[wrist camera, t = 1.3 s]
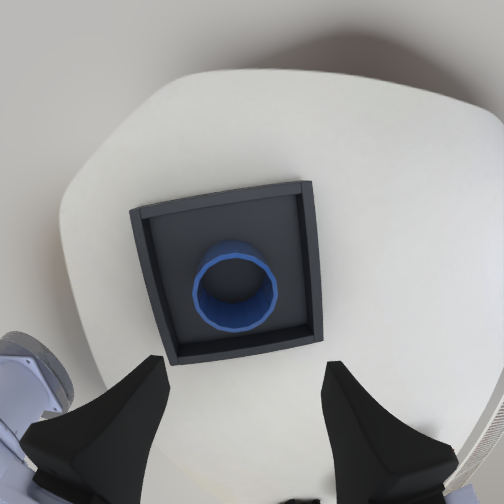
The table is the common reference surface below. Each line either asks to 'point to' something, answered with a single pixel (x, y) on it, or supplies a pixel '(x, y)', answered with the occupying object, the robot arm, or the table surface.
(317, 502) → the game controller
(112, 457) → the robot arm
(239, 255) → the small cup
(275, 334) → the tray
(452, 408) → the table surface
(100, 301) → the table surface
